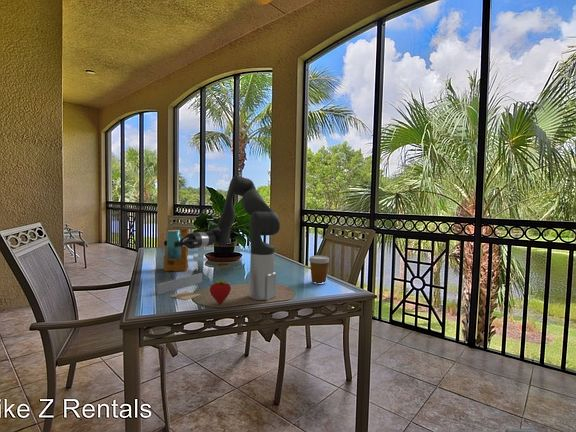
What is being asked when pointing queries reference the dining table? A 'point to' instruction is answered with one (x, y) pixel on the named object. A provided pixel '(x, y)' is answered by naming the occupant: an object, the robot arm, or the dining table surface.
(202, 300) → the dining table surface
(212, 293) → the strawberry
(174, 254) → the can
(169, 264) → the coffee package
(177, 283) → the acrylic wall
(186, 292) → the coaster
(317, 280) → the glass of beer
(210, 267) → the dining table surface
